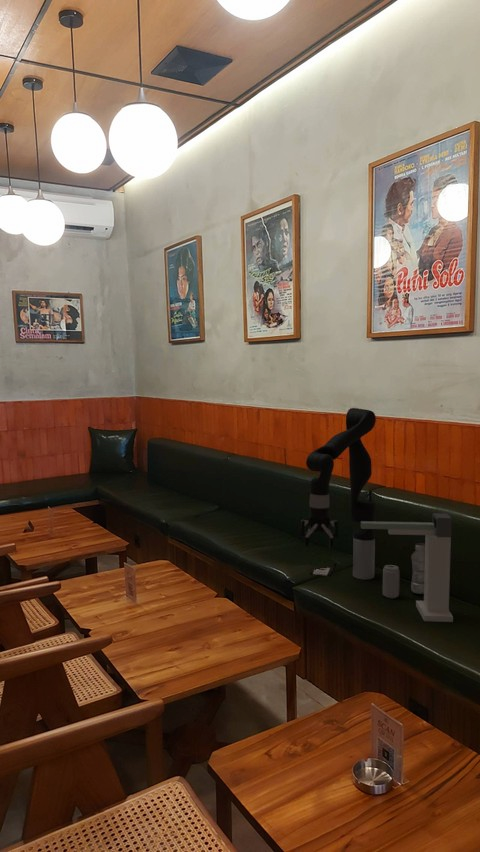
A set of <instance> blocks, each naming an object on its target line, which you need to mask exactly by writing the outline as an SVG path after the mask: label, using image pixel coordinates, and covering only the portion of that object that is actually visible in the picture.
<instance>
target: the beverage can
mask: <svg viewBox="0 0 480 852" xmlns="http://www.w3.org/2000/svg"><path fill="white" fill-rule="evenodd" d="M382 596H384V597H385V598H387V599H396V598H398V597H399V596H400V569H399V566H397V565H394V564H385V565H384V566H383V569H382Z"/></svg>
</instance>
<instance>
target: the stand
mask: <svg viewBox="0 0 480 852" xmlns="http://www.w3.org/2000/svg"><path fill="white" fill-rule="evenodd" d="M431 523H433V524H434V530H404V529H387V533H388V535H397V536H398V535H400V536H401V535H402V536H403V535H405V536H406V535H407V536H410V535H411V536H425V542H424V545H425V550H424V551H425V577H424V594H423V600H415V606H416V608H417V610H418V612H419V615H420V617H421V618H422V619H423V621H424V622H439V623H440V622H441V623H444V622H445V623H453V622H454V616H453V614H452V613H451V611H450V608H449V607H450V579H451V578H450V576H451V575H450V573H451V541H452V540H451V539H452V526H453V525H452V523H453V519H452V517H451V515H449V514H448V513H445V512H443V513H442V512H441V513H440V512H439V513H438V512H437V513H436V512H434V513H433V512H432V522H431Z"/></svg>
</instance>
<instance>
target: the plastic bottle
mask: <svg viewBox="0 0 480 852" xmlns="http://www.w3.org/2000/svg"><path fill="white" fill-rule="evenodd" d="M414 545H415V547H414V549H415V551H413V553H412V554H411V558H410V559H411V565H412V577H411V583H410V589H411V591H412V592H413V593H415V594H416V595H424V577H425V543H415V544H414Z"/></svg>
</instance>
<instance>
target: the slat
mask: <svg viewBox="0 0 480 852" xmlns="http://www.w3.org/2000/svg"><path fill="white" fill-rule="evenodd" d="M360 528H362V529H375V530H388V529H404V530H434V524H433V523H432V522H427V521H426V522H424V521H423V522H422V521H421V522H420V521H419V522H418V521H375V522H372V521H361V522H360Z"/></svg>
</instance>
